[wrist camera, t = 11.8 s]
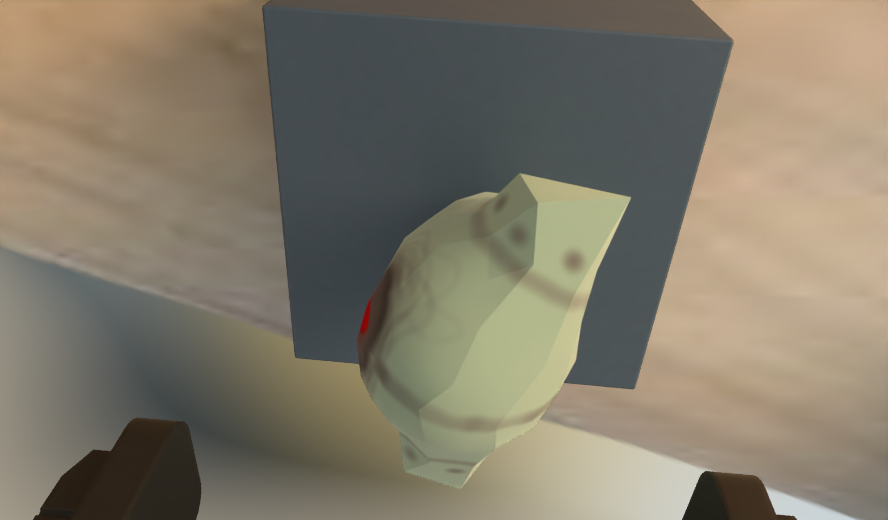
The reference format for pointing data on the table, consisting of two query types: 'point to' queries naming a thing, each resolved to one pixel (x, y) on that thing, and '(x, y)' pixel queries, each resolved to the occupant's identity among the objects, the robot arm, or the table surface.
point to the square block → (484, 141)
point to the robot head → (483, 319)
